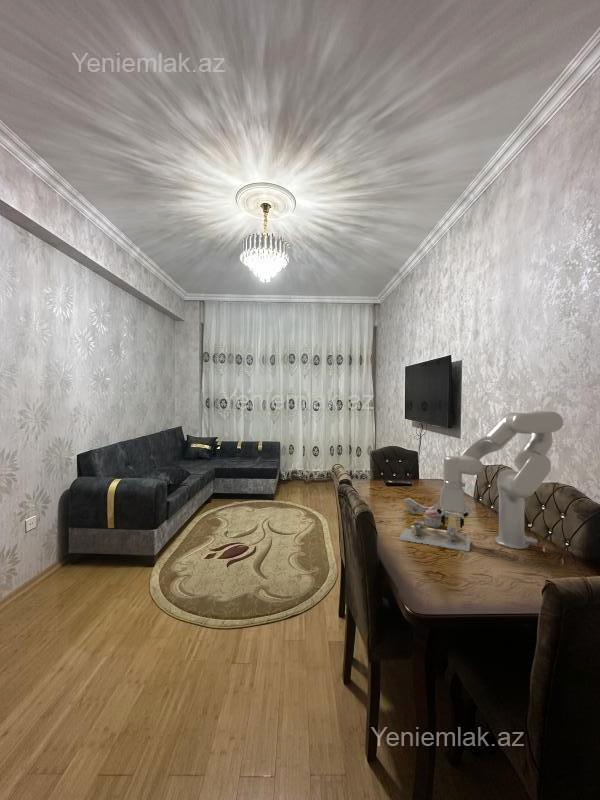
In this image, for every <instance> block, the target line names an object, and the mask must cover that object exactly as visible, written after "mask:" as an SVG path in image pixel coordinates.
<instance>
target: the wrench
mask: <svg viewBox="0 0 600 800" xmlns="http://www.w3.org/2000/svg"><path fill="white" fill-rule="evenodd" d="M406 503H408V504H409V505H410V506H409V507H404V508H403V509H404V511H406V512H408V513H411V514H412V515H416V514H417V513H425V512H426V510H428V509H429V508H430V507H429V506H424V505H422V504H420V503H418V502H416V501H415V500H413V499H412V498H408V497H407V498H405V499H404V500H402V504H406ZM440 510H441V511H442V509H440ZM449 514H452V515H456V521H460V518H461V516H460V513H457V512H452V511H445V513H444V515H445V519H446V518H447V519H449ZM457 516H459V517H460V518H457Z"/></svg>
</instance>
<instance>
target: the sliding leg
mask: <svg viewBox="0 0 600 800" xmlns="http://www.w3.org/2000/svg"><path fill="white" fill-rule="evenodd" d="M456 518H457V516H456V515H452V514H449V518H448V525H447V527H446V529H447V530H446V531H447V532H450V540H453V535H454V533H457V532H459V531H458V527H459V526H458V525H457V520H456Z"/></svg>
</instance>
